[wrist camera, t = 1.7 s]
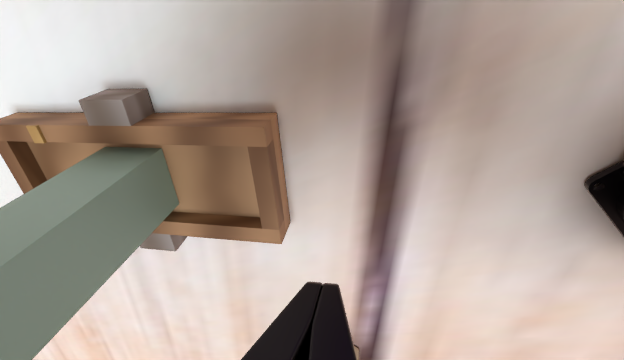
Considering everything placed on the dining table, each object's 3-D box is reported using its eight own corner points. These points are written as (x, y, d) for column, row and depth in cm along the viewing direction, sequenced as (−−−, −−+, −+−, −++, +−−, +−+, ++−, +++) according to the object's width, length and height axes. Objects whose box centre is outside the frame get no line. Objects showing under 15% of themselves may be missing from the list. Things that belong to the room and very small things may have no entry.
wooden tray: (273, 86, 20) (258, 99, 18) (292, 239, 26) (283, 263, 23) (5, 90, 24) (-34, 102, 22) (73, 221, 30) (48, 240, 28)
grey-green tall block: (161, 148, 22) (-63, 312, 11) (179, 203, 24) (6, 386, 13) (105, 146, 23) (-154, 298, 12) (126, 200, 25) (-76, 369, 14)
